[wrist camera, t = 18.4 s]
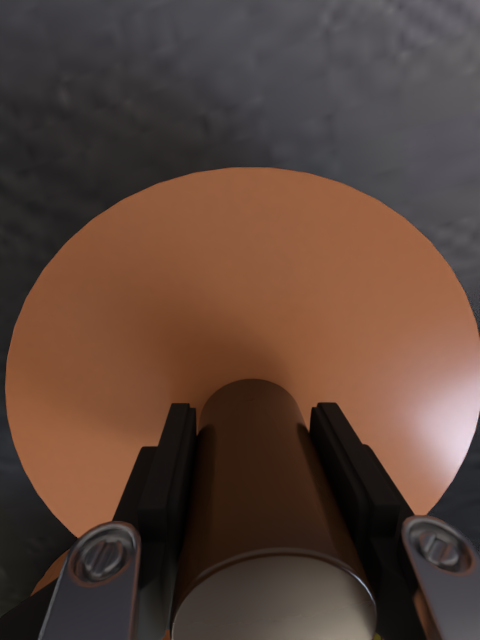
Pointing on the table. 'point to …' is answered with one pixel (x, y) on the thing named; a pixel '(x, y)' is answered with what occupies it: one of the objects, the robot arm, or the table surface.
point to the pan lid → (246, 383)
